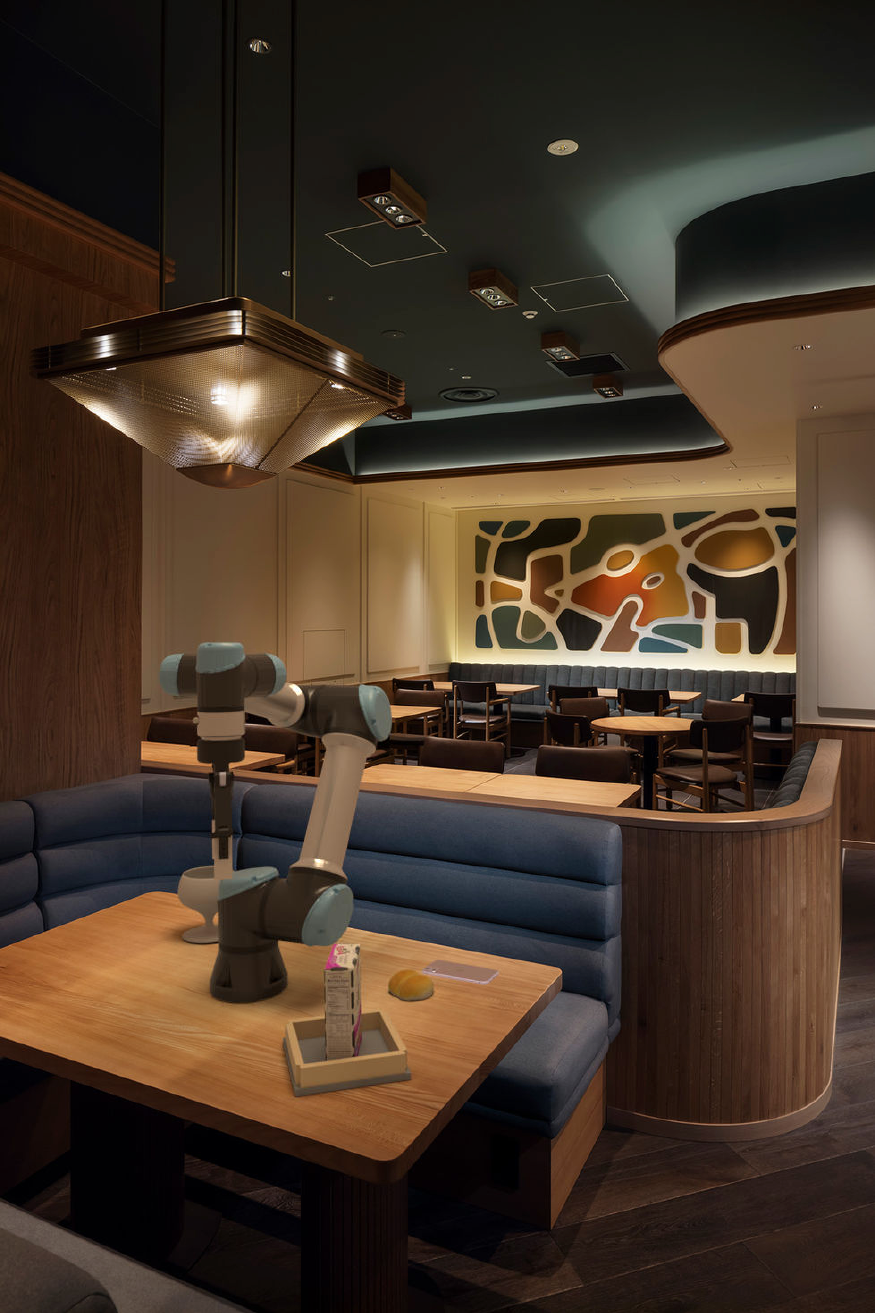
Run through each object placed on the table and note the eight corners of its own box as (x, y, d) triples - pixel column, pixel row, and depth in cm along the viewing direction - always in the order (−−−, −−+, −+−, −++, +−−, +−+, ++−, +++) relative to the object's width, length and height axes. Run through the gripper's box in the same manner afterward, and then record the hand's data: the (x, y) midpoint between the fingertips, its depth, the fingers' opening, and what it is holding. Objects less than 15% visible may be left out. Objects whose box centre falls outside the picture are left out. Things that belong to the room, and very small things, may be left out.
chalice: (251, 934, 200) (251, 871, 200) (200, 950, 190) (199, 883, 190) (217, 922, 209) (216, 861, 209) (166, 936, 199) (165, 872, 199)
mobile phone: (486, 981, 170) (419, 969, 176) (486, 986, 170) (419, 974, 176) (500, 969, 176) (436, 957, 183) (500, 973, 176) (436, 962, 183)
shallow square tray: (282, 1043, 145) (282, 1019, 145) (385, 1029, 150) (385, 1007, 150) (295, 1096, 128) (295, 1070, 128) (411, 1079, 133) (411, 1053, 133)
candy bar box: (333, 1038, 144) (332, 942, 144) (362, 1038, 144) (361, 942, 144) (323, 1071, 133) (322, 967, 133) (355, 1071, 133) (354, 967, 133)
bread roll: (411, 1006, 160) (411, 985, 160) (381, 992, 167) (381, 971, 167) (443, 994, 166) (443, 973, 166) (414, 980, 173) (413, 961, 172)
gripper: (196, 730, 149) (197, 851, 149) (197, 746, 125) (198, 890, 125) (240, 729, 151) (241, 848, 151) (249, 744, 127) (250, 886, 127)
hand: (221, 868), depth 138 cm, fingers open, 13 cm apart
